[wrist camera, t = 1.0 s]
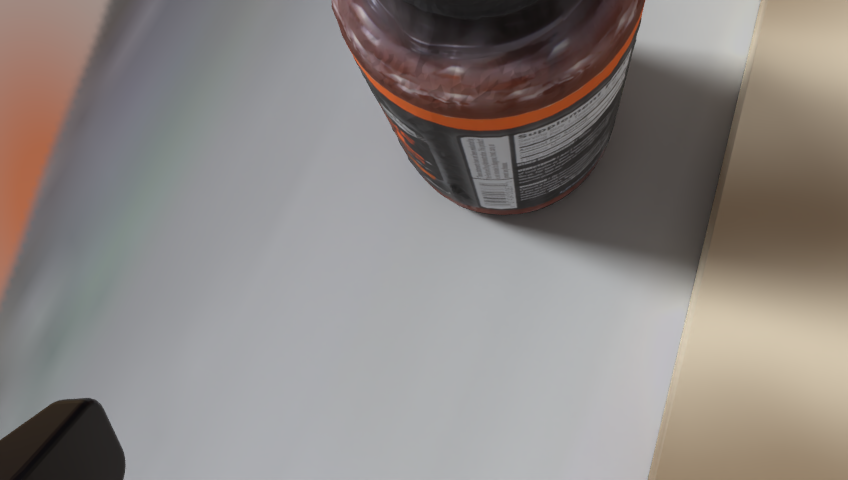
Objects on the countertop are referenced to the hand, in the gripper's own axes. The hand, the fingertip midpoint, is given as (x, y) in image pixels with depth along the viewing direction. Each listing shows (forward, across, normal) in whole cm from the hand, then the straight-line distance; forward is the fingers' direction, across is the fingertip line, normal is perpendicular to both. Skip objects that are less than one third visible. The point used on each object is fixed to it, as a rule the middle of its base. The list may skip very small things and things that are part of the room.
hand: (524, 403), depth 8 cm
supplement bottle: (+15, 0, +4) cm, 16 cm away
